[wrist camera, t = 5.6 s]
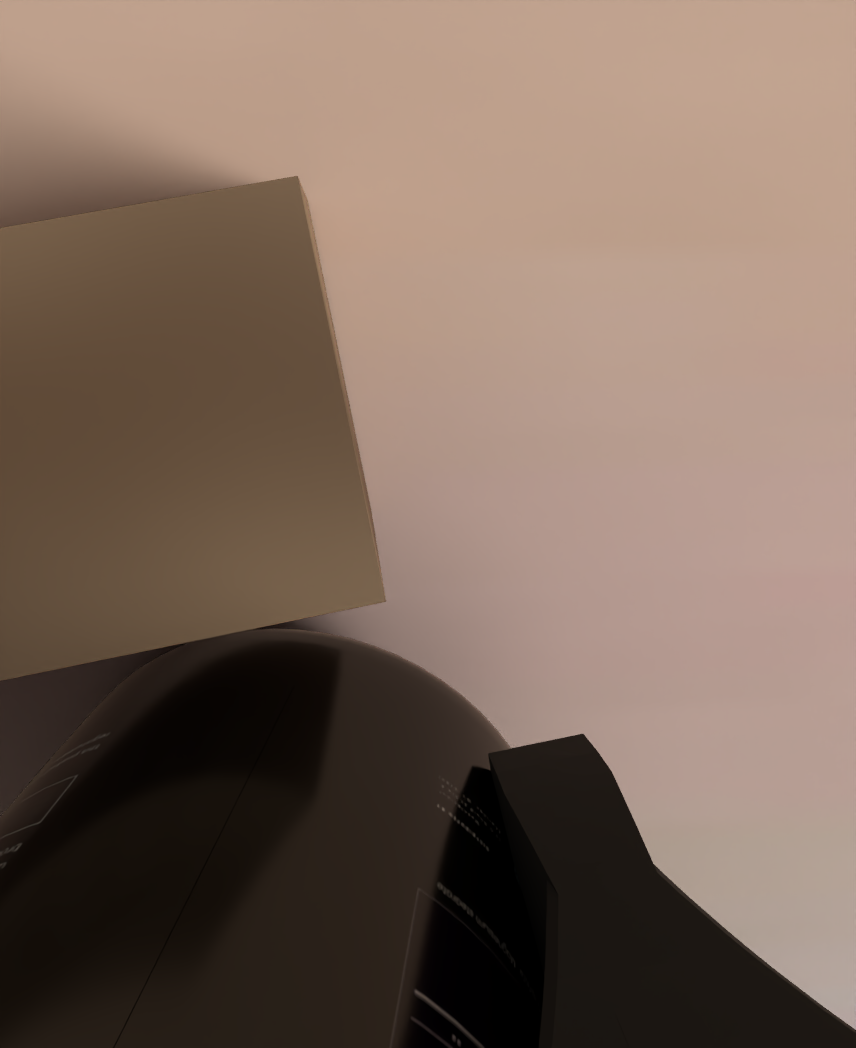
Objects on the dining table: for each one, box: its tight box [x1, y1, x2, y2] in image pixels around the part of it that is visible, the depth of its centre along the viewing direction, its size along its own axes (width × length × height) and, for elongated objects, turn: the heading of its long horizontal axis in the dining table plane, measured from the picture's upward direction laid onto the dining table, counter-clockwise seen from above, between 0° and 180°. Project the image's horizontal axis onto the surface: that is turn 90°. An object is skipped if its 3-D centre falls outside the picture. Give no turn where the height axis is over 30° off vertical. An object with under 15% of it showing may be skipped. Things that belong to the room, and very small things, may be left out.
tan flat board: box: [0, 176, 386, 681], centre depth 11 cm, size 17×12×3 cm
